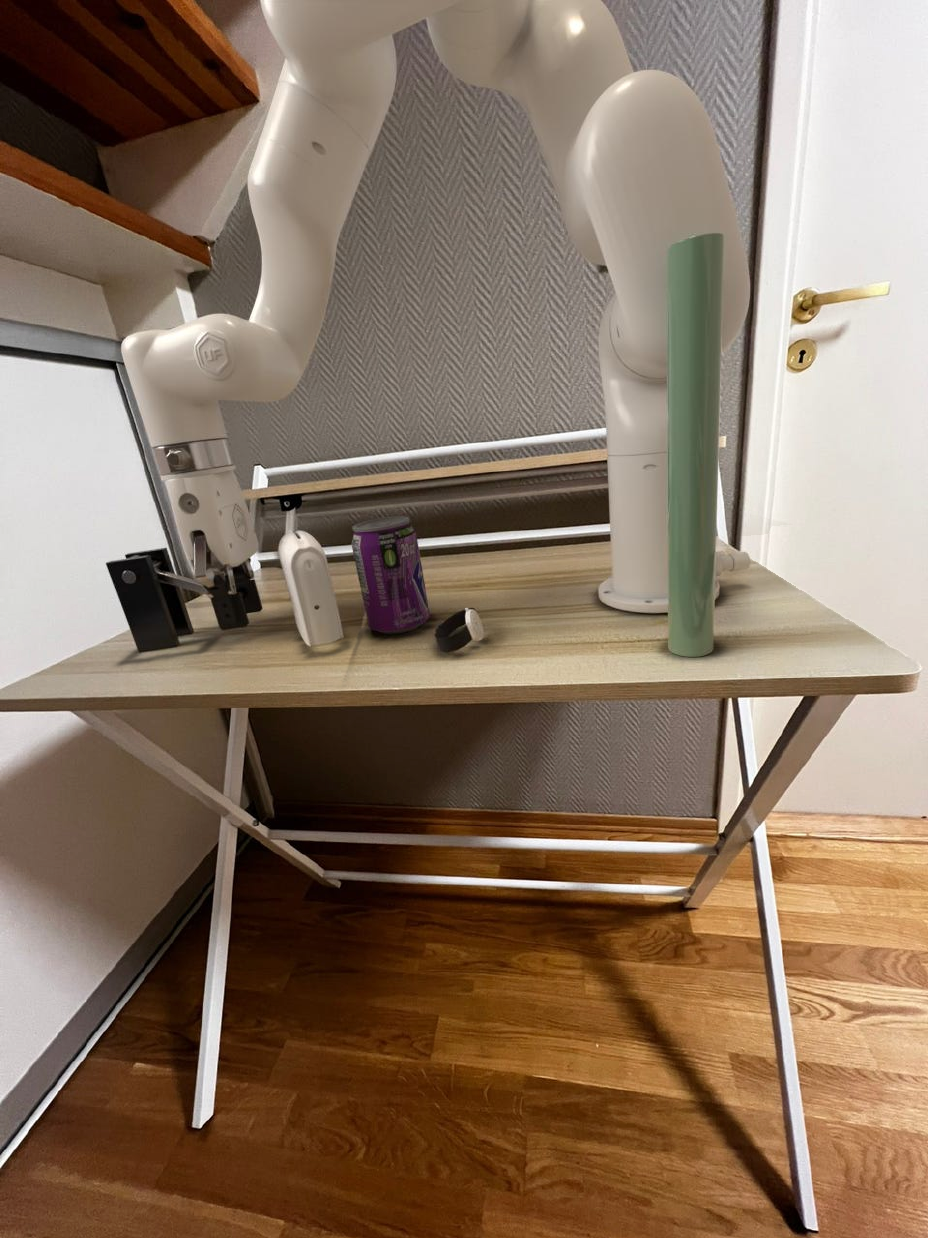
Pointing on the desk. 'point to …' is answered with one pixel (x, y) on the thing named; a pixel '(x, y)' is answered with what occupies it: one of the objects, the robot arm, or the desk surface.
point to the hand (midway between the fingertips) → (242, 618)
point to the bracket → (150, 600)
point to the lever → (184, 580)
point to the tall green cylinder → (693, 437)
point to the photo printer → (310, 588)
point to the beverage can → (390, 574)
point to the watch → (462, 637)
